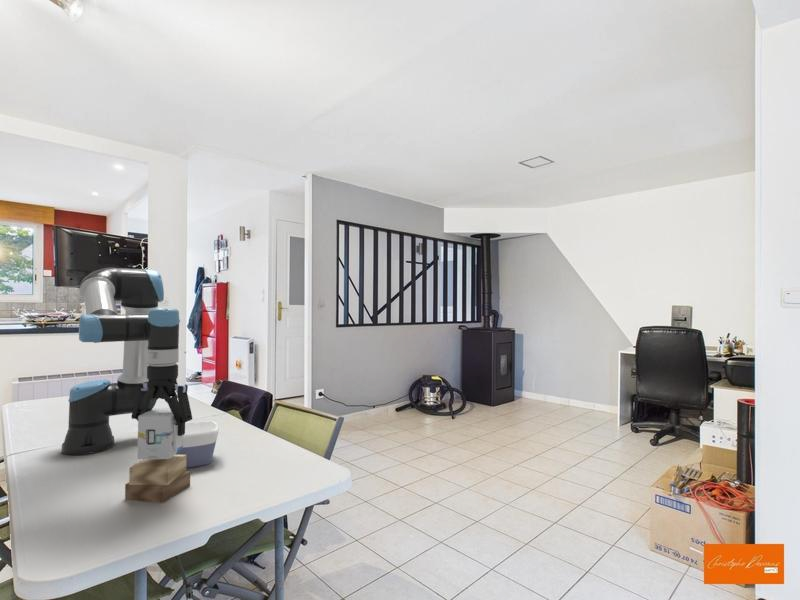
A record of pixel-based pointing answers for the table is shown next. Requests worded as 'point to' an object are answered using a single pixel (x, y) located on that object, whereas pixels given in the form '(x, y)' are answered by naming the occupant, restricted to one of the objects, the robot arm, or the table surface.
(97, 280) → the robot arm
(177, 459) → the tower top
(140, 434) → the ink box
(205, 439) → the bowl
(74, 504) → the table surface
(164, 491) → the tower base
